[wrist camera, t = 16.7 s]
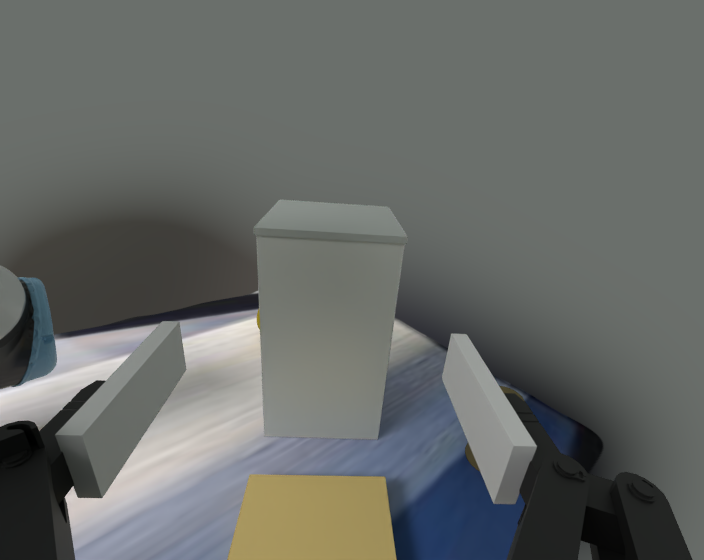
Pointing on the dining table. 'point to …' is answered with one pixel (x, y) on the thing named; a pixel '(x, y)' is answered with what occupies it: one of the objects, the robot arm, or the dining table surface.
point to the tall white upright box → (326, 316)
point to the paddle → (314, 519)
